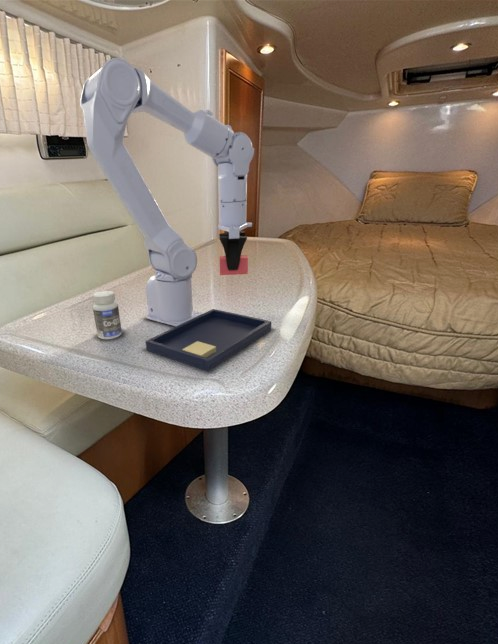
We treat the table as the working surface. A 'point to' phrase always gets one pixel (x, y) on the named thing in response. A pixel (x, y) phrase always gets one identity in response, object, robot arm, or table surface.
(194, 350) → the beige square tile
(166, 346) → the tray
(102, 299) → the pill bottle
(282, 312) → the table surface
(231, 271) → the eraser
